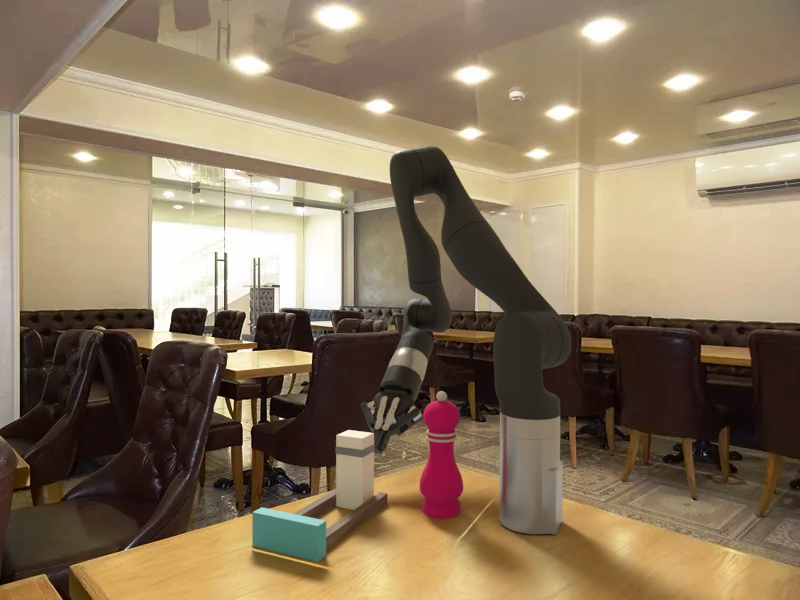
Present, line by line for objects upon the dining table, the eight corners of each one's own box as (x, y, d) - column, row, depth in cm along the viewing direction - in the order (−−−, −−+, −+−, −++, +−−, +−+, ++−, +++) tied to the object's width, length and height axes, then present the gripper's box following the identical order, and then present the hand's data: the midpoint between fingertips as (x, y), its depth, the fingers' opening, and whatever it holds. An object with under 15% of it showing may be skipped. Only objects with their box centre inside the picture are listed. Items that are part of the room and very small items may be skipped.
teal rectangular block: (326, 557, 76) (326, 520, 76) (317, 563, 74) (317, 526, 74) (261, 541, 81) (261, 507, 81) (252, 547, 79) (252, 512, 79)
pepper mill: (463, 505, 95) (463, 388, 95) (463, 522, 88) (464, 395, 88) (420, 503, 96) (421, 387, 96) (417, 520, 89) (418, 394, 88)
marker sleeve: (374, 503, 95) (374, 432, 95) (362, 511, 91) (362, 438, 91) (348, 498, 97) (348, 429, 97) (335, 506, 93) (335, 435, 93)
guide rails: (387, 505, 95) (387, 493, 95) (314, 560, 75) (314, 545, 75) (341, 496, 99) (341, 485, 99) (259, 547, 79) (259, 533, 79)
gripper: (369, 361, 113) (337, 435, 102) (430, 366, 107) (402, 445, 96) (381, 383, 118) (351, 456, 107) (439, 389, 112) (414, 467, 101)
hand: (375, 451), depth 102 cm, fingers closed
